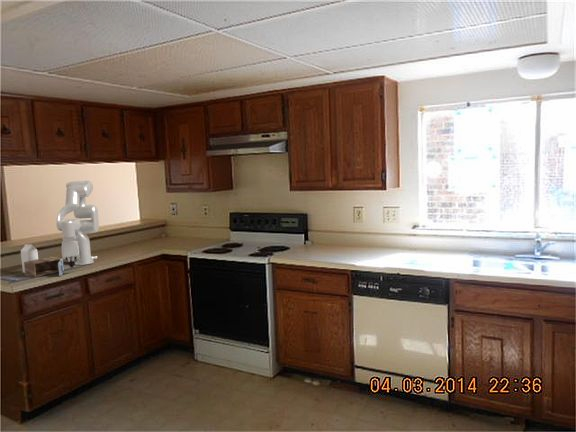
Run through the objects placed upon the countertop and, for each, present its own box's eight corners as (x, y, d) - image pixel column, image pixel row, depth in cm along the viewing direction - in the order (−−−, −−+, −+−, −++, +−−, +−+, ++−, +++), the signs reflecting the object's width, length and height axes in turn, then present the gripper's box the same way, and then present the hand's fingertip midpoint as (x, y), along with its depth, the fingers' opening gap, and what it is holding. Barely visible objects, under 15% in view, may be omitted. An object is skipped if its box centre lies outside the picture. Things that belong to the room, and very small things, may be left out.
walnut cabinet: (52, 269, 307) (50, 256, 306) (62, 271, 300) (60, 258, 300) (25, 275, 292) (23, 262, 291) (35, 277, 285) (33, 263, 284)
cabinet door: (61, 270, 300) (60, 258, 299) (65, 270, 300) (64, 258, 300) (59, 275, 283) (58, 263, 282) (63, 275, 284) (61, 263, 283)
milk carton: (30, 273, 298) (27, 245, 296) (22, 272, 301) (19, 245, 299) (39, 271, 305) (36, 243, 303) (32, 270, 307) (29, 243, 306)
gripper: (82, 237, 295) (84, 264, 297) (57, 239, 290) (59, 267, 292) (81, 239, 288) (84, 266, 290) (55, 241, 283) (58, 269, 285)
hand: (72, 267), depth 291 cm, fingers closed
